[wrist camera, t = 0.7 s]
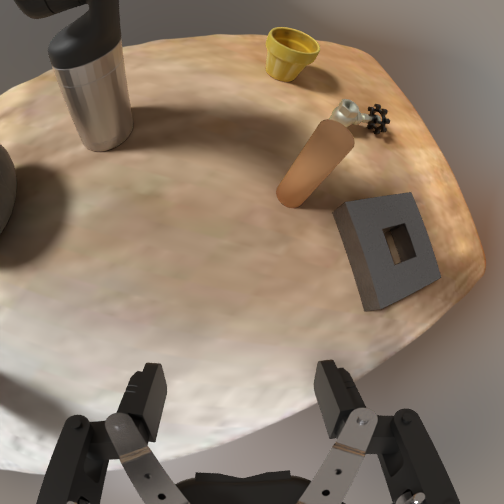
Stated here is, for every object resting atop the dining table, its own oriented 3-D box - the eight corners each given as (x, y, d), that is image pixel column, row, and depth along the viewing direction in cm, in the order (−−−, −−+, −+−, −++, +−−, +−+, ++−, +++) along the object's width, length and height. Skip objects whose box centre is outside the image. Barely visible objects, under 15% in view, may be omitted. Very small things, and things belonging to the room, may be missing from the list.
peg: (272, 183, 40) (312, 119, 26) (298, 180, 41) (344, 120, 27) (281, 210, 39) (328, 152, 25) (307, 205, 41) (360, 151, 26)
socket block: (332, 212, 41) (344, 202, 37) (397, 200, 46) (411, 192, 42) (364, 311, 38) (380, 309, 34) (425, 281, 43) (441, 277, 39)
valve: (333, 140, 46) (377, 140, 49) (350, 118, 40) (395, 122, 43) (319, 114, 47) (363, 116, 50) (333, 92, 41) (379, 98, 44)
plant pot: (310, 89, 49) (329, 56, 40) (264, 86, 46) (279, 49, 37) (294, 61, 51) (309, 30, 42) (252, 58, 48) (262, 24, 39)
